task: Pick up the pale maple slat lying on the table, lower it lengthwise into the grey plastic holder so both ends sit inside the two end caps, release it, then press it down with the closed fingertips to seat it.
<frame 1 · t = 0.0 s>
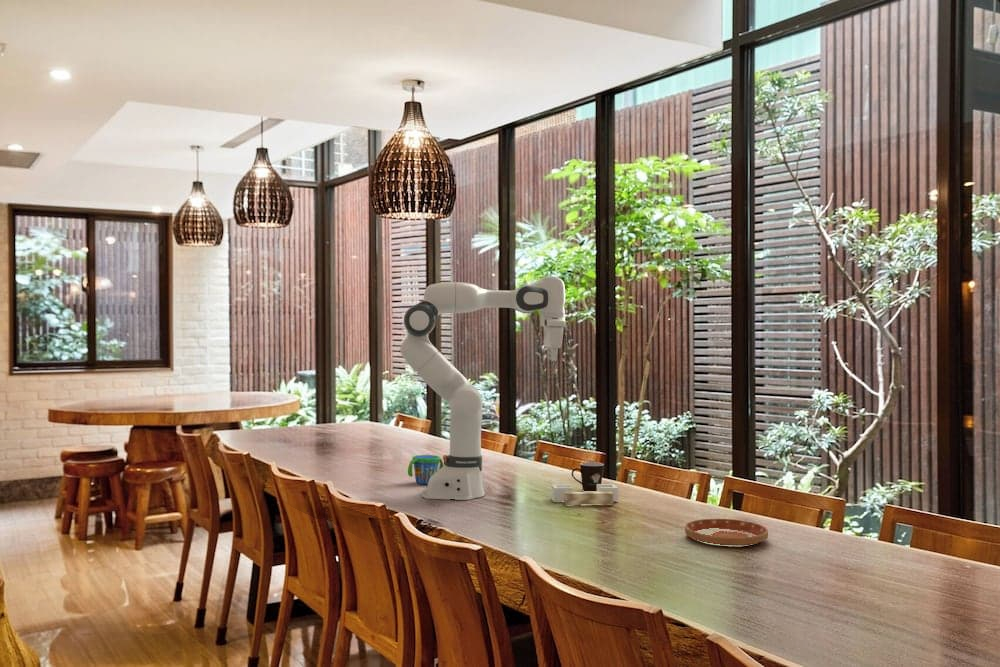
hand: (552, 360, 303), 48 cm above the table, tool pointing down, fingers open, 8 cm apart
endcaps: (584, 500, 294), on the table
slat: (588, 505, 287), on the table
snack cup: (425, 483, 323), on the table
saucer: (725, 540, 242), on the table
coffee mug: (587, 491, 311), on the table
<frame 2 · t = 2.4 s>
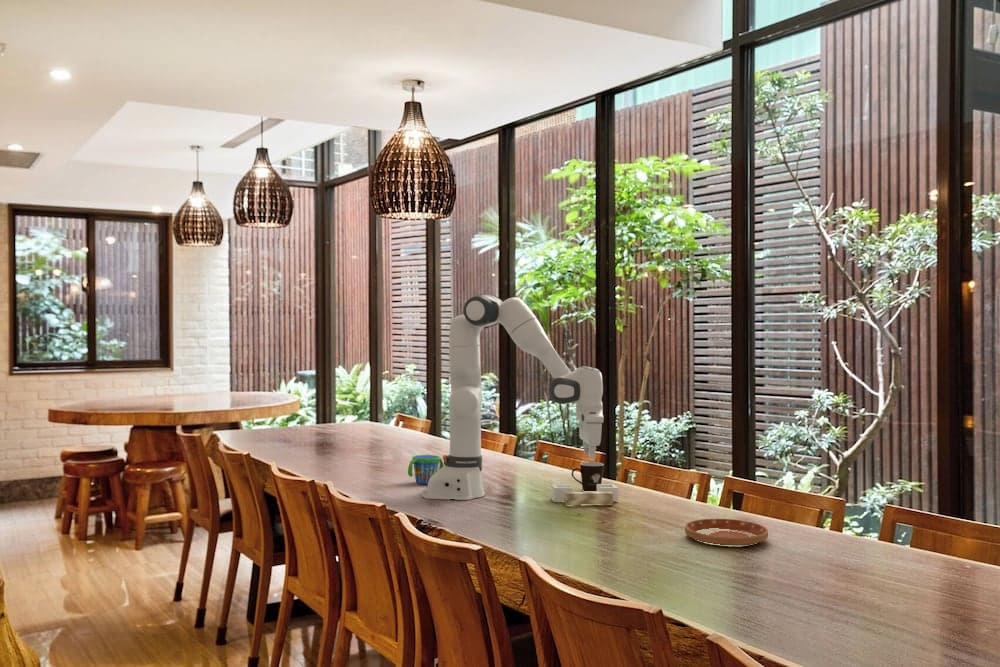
hand: (589, 455, 286), 17 cm above the table, tool pointing down, fingers open, 8 cm apart
nothing on the table moved.
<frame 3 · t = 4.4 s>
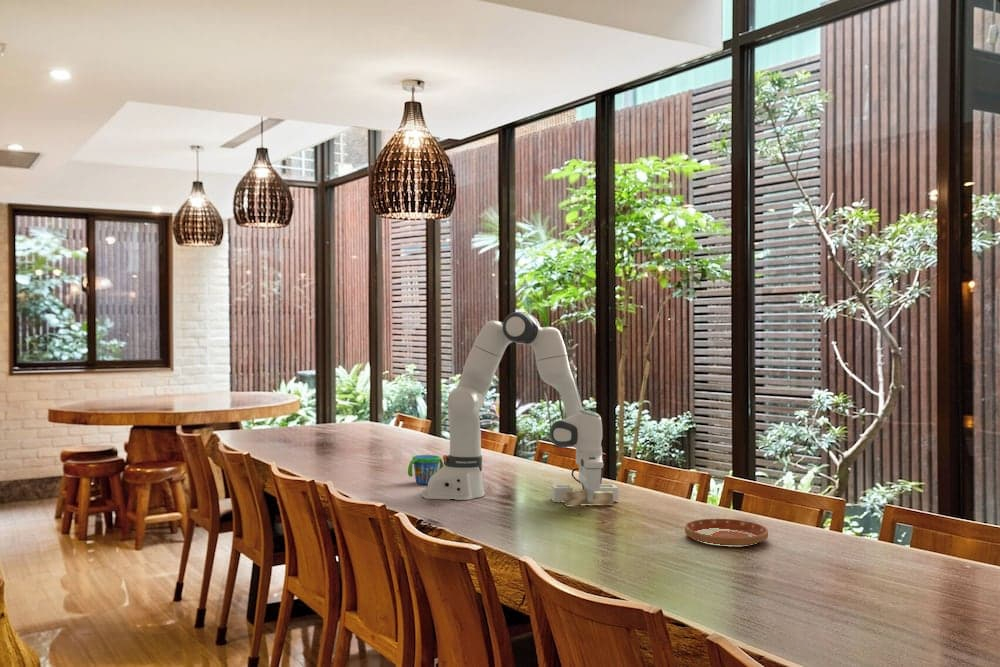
hand: (588, 499, 286), 2 cm above the table, tool pointing down, fingers closed on slat, 3 cm apart
slat: (588, 505, 287), on the table, touching gripper
everything else where it was.
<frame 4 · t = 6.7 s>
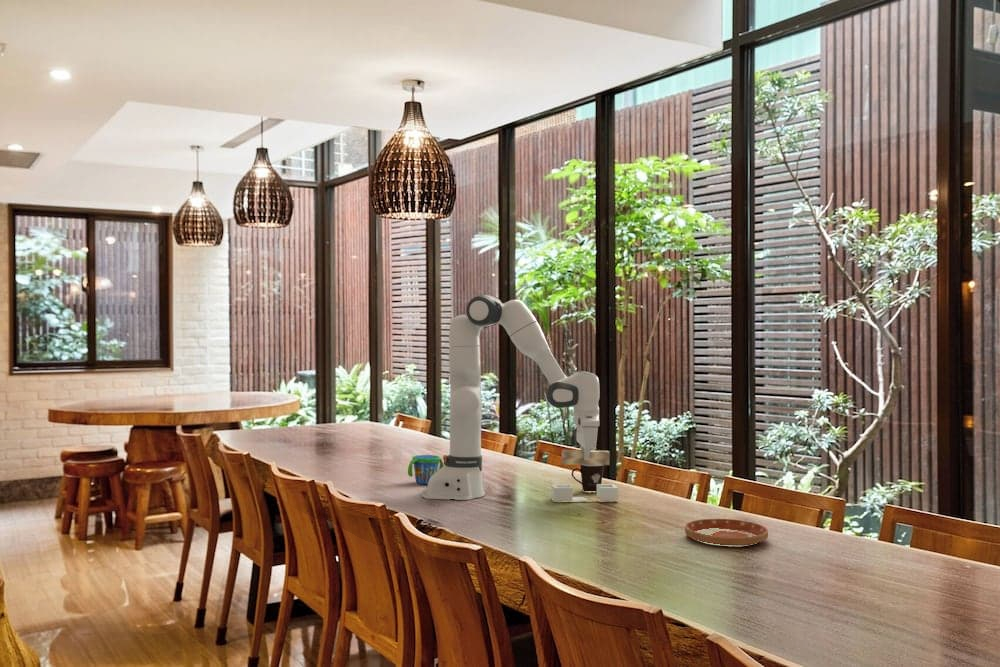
hand: (585, 459, 291), 15 cm above the table, tool pointing down, fingers closed on slat, 3 cm apart
slat: (585, 464, 291), point 13 cm above the table, touching gripper
everything else where it was.
when the fingers open (3 cm above the table, at t = 8.8 s): slat stays where it is, resting on endcaps.
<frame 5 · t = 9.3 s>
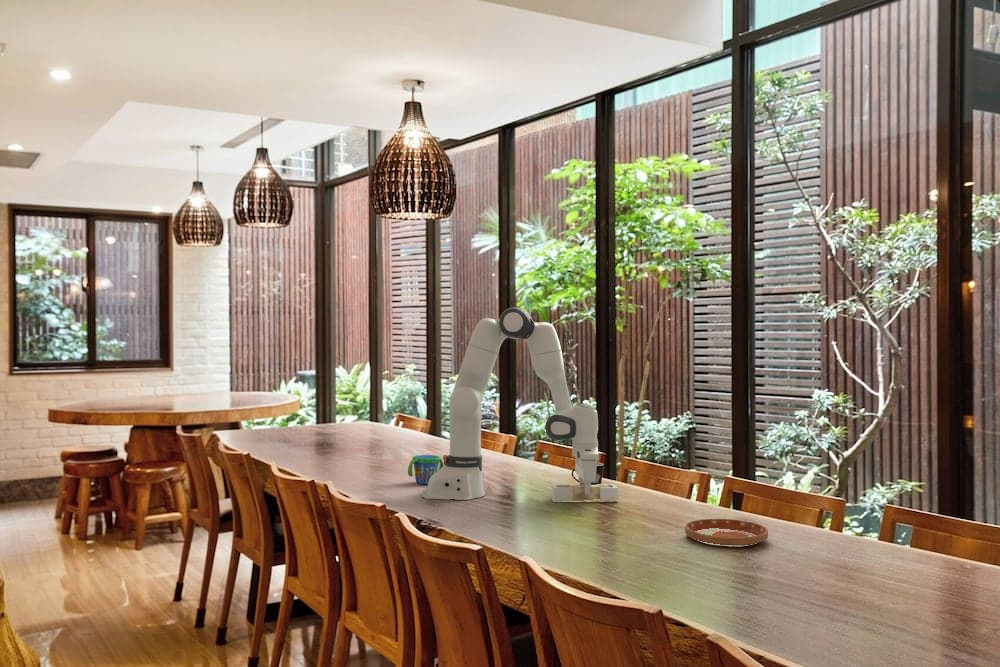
hand: (584, 491, 294), 3 cm above the table, tool pointing down, fingers open, 8 cm apart
slat: (584, 498, 294), point 1 cm above the table, touching endcaps
everything else where it was.
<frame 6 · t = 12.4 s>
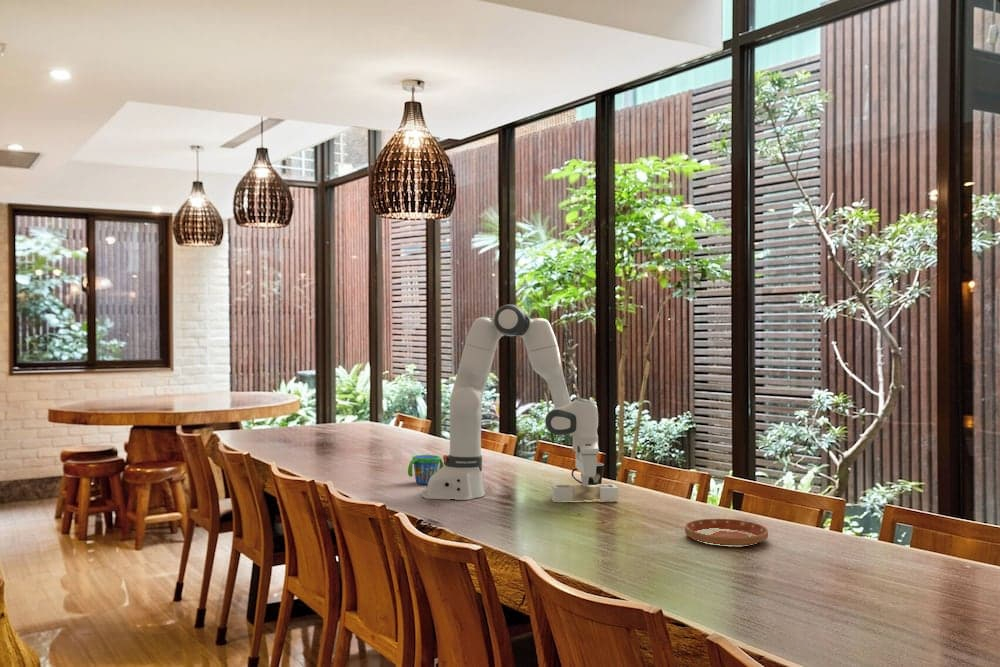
hand: (584, 485, 294), 5 cm above the table, tool pointing down, fingers closed, pressing on slat
slat: (584, 498, 294), point 1 cm above the table, touching endcaps, gripper
everything else where it was.
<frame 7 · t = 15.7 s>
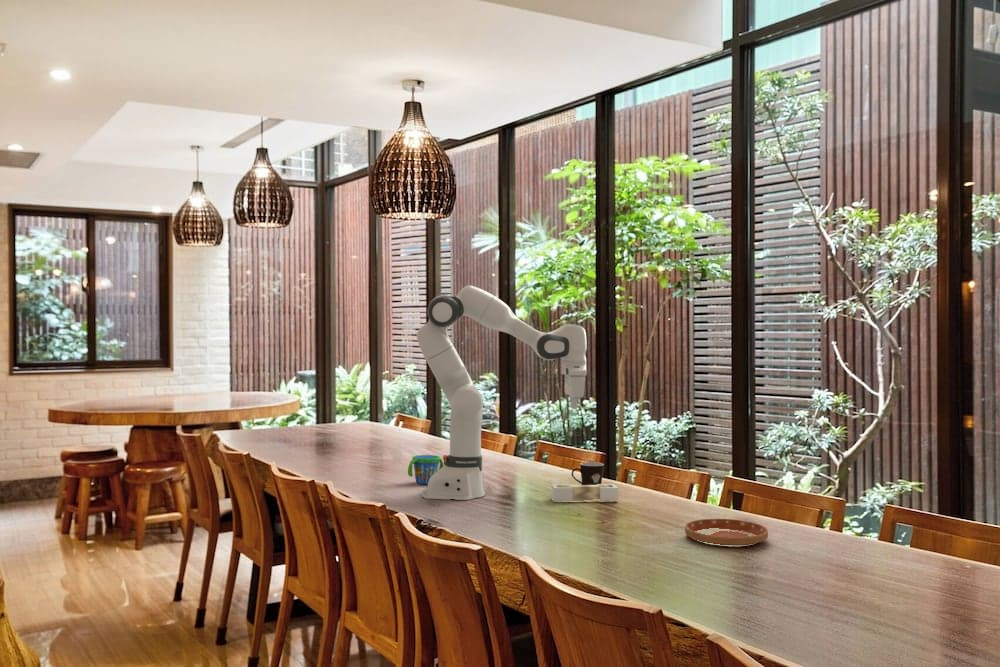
hand: (573, 408, 301), 31 cm above the table, tool pointing down, fingers closed
slat: (584, 498, 294), point 1 cm above the table, touching endcaps
everything else where it was.
at the end: slat 0.0 cm off-centre on the endcaps, point 0.6 cm above the endcaps's base; slat tilted 0°; the gripper is holding nothing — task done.
